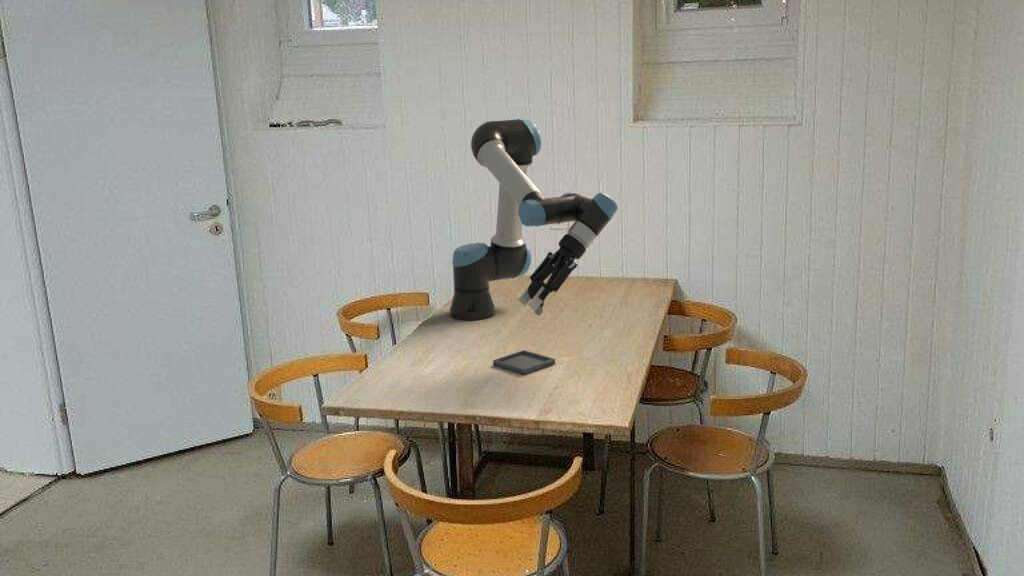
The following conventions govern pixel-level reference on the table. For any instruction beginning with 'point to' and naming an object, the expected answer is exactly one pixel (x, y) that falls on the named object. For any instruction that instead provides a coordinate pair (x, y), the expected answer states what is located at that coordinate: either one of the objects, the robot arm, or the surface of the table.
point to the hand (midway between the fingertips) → (526, 305)
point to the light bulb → (533, 290)
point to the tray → (524, 362)
